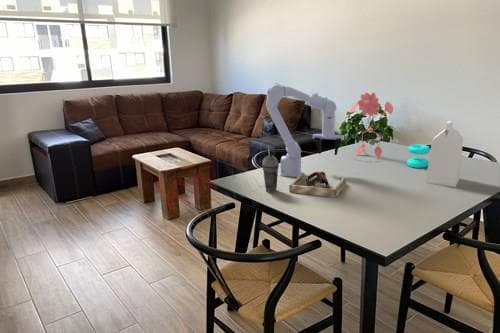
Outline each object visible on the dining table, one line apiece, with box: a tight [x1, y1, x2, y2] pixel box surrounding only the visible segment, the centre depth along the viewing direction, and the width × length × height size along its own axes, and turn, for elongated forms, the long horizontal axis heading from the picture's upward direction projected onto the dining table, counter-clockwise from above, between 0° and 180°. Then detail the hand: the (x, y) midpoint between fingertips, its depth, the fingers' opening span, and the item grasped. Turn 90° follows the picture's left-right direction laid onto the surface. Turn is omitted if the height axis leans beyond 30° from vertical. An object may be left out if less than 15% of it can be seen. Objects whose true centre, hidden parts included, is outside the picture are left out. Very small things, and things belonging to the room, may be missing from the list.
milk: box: [425, 120, 464, 188], centre depth 163 cm, size 12×12×26 cm
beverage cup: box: [261, 144, 280, 193], centre depth 162 cm, size 7×7×20 cm
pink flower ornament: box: [348, 92, 394, 163], centre depth 201 cm, size 15×26×35 cm, turn 43°
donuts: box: [406, 143, 431, 169], centre depth 187 cm, size 10×10×10 cm
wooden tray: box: [288, 173, 346, 198], centre depth 165 cm, size 20×17×3 cm
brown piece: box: [304, 171, 331, 189], centre depth 165 cm, size 12×10×8 cm
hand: (327, 153), depth 182 cm, fingers open, 7 cm apart
